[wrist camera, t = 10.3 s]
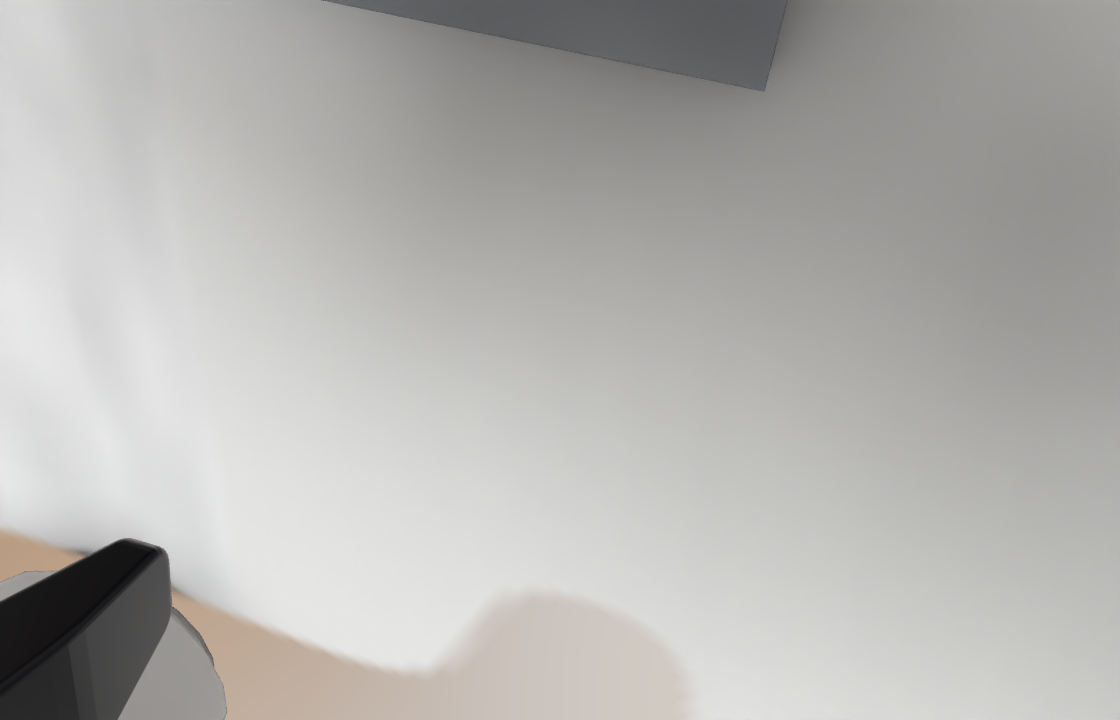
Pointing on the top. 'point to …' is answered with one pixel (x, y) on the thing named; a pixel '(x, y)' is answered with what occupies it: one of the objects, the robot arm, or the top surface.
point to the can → (164, 670)
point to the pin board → (624, 30)
